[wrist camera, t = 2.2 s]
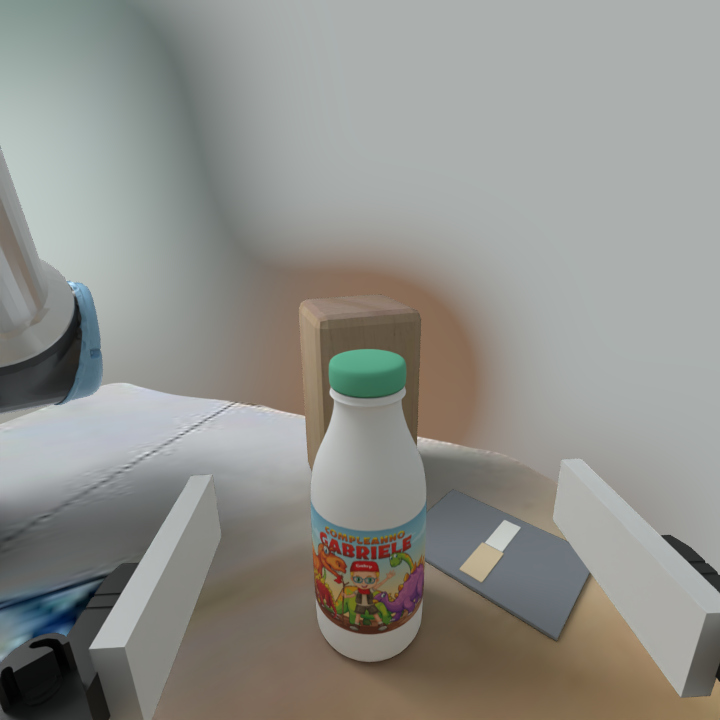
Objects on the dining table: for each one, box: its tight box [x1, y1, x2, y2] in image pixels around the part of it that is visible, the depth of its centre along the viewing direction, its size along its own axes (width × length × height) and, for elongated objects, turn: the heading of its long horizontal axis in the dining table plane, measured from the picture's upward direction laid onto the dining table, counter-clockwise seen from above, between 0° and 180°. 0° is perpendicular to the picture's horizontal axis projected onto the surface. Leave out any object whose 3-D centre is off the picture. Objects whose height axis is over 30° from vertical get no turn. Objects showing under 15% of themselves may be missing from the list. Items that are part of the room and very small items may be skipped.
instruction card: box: [425, 489, 590, 641], centre depth 37 cm, size 14×10×1 cm
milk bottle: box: [311, 349, 426, 662], centre depth 28 cm, size 8×8×20 cm
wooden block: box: [299, 294, 421, 471], centre depth 44 cm, size 10×10×20 cm
